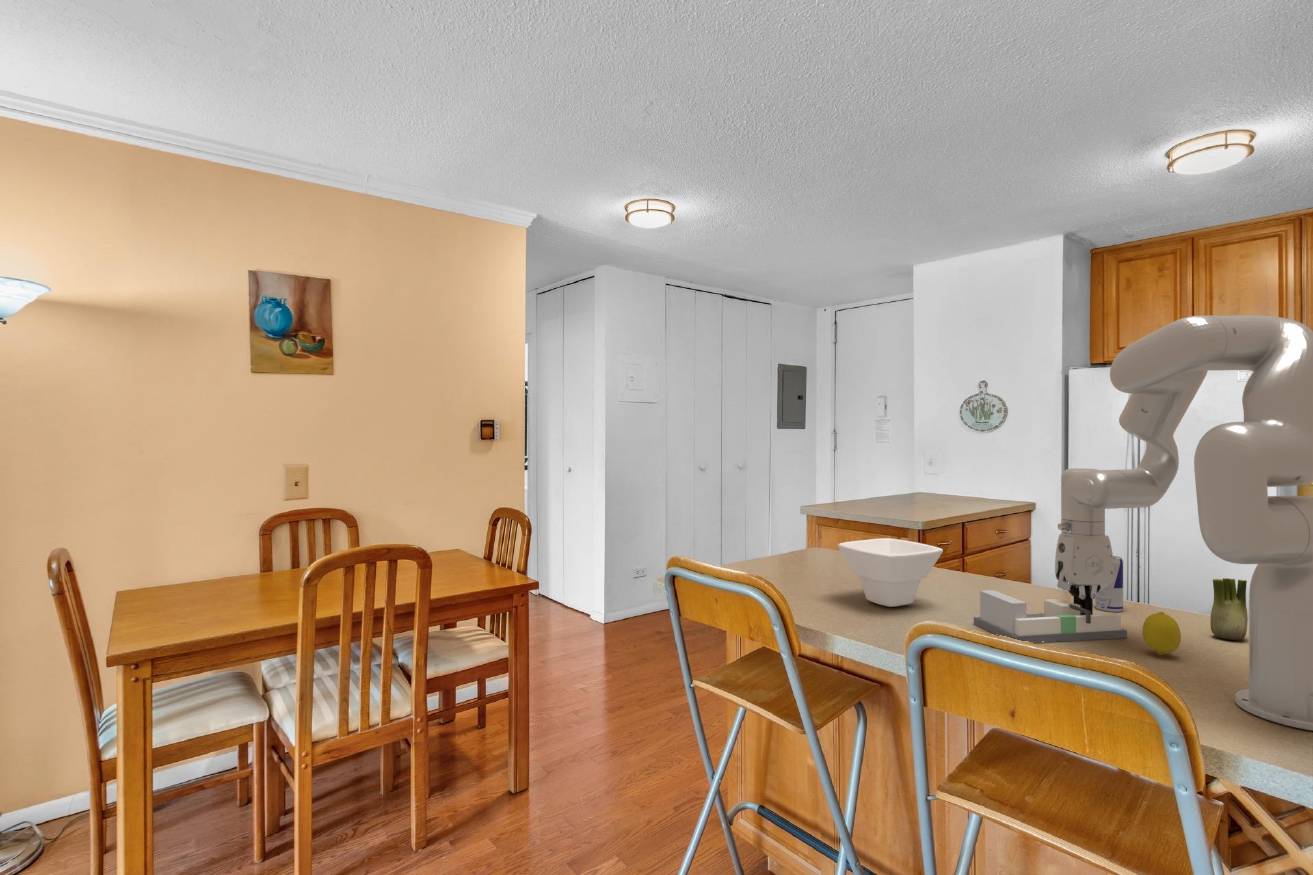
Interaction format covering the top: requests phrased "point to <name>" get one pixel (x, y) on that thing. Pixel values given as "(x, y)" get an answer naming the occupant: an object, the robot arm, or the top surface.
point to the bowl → (890, 567)
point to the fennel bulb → (1229, 609)
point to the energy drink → (1112, 590)
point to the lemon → (1161, 633)
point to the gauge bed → (1042, 622)
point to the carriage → (1064, 609)
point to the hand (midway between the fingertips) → (1083, 616)
